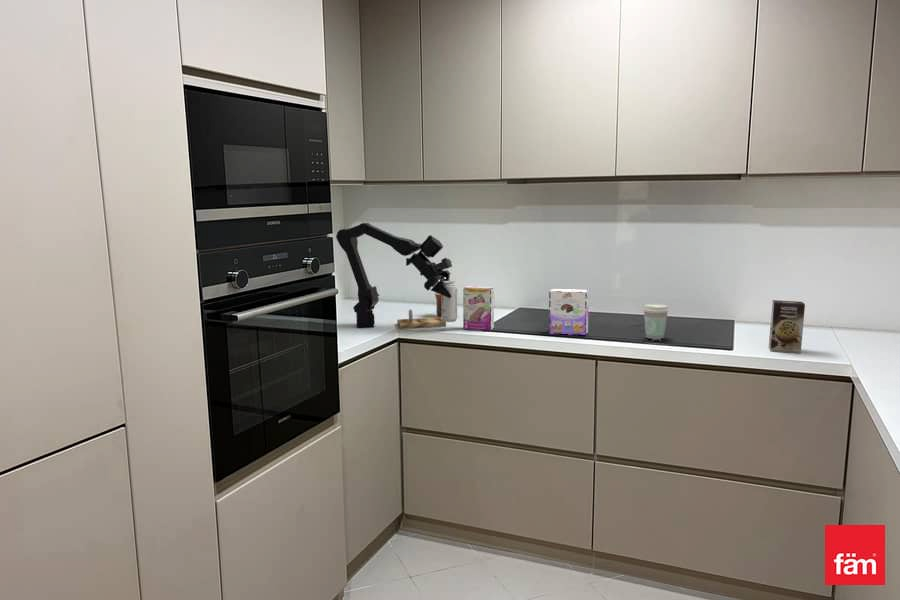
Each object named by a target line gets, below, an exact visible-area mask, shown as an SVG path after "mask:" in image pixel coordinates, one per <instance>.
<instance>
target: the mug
mask: <svg viewBox="0 0 900 600" xmlns="http://www.w3.org/2000/svg"><path fill="white" fill-rule="evenodd" d="M434 295H435V299H436V308H435V309H436V312H435V313H436V316H437V317H441V294H439V293H436V292H434ZM437 317H436V318H437Z"/></svg>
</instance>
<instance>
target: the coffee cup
mask: <svg viewBox="0 0 900 600" xmlns="http://www.w3.org/2000/svg"><path fill="white" fill-rule="evenodd" d="M642 311H643V317H644V330H645V331H644V332H645V338H646V337H647V338H653V339H661V338H663V339H664V336H665V330H666V324H667V319H668V313H669V308H668V305H666V304H661V303H647V304H645V305H644V308H643V310H642Z"/></svg>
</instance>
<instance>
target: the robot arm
mask: <svg viewBox="0 0 900 600" xmlns="http://www.w3.org/2000/svg"><path fill="white" fill-rule="evenodd" d="M364 235H366V236H369V237H370V238H373V239H375V240H377V241H380V242H382V243H384V244H386V245H387V246H389V247H391V248H392V249H393V250H394V251H396V252H397V253H398V254H400V255H401V256H404V257H406V256H410V257H406V259H405V260H406V261H405V265H406V266H410V265H411V264H412V265H413V266H414V267H415V269H416V270H418V272H420V273H419V275H420V276H423V277H424V278H425V279H426V281H425V282H424V283H423V286H424V287H423V288H425V290H426V291H431V292H434V293H439V294H441V295H443V296H446V297H448V298H451V297H452V296H451V294H450V293H449V291H448V290H447V289H446V287H445V286H444V283H443V281H450V277H451V274H452V273H451V272H450V271H449V270H448V269H450V268H453V264H452V260H451V259H449V258H447V257H444V258H442V259H441V261H440V262H439V263H436V262H434V261H433V262H432V261H431V260H430V259H429V258H432V259H433V258H434V257H435V256H436V255H438V253H439V252H440V251H441V250H443V248H444V246H443V243H442V242H441V241H440V240H438V239H437V238H435V237H433V235H431V234H430V235H428V236H427V237H426V239H425V240H424V241H423V242H422V243H416V241H414V240H412V239H409V238H406V237H400V236H397V235H394V234H392V233H390V232H387V231H385V230H383V229H381V228H379V227H376V226H374V225H372V224H371V223H369V222H362V223H360V224H358V225H356V226H352V227H350V228H349V227H348V228H342V229H339V230H338V231H337V232H336V235H335V238H336V240H337V242H338V244H339V247H340V248H341V249H342V250H343V251H344V252H345V255H346V257H347V259H348V263H349V265H350V266H349V267H350V269H351V271H352V274H353V277H354V279H355V283H356V286H357V298H358V299H357V300H358V302H357V303H356V304H354V306H353V307H352V308H353V311H354V313H355V317H356V318H355V319H356V320H355V321H356V323H355V325H356V328H358V329H359V328H362V329H363V328H374V327H375V322H376V321H375V314H374V313H373V312H374V311H373V310H375V306H376V305H377V304H378V302H379V301H380V300H379V297H380V294H379V293H378V291H377V289H378V288H377V286H372V285H371V284H370V282H369V278H368V276H367V274H366V273H367V272H366V271H365V268H364V265H363V261H362V258H361V255H360V253H359V249H358V238H359V237H361V236H364ZM417 251H419V252H418V253H416V252H417ZM411 255H412V256H411Z"/></svg>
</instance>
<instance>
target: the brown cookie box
mask: <svg viewBox="0 0 900 600" xmlns="http://www.w3.org/2000/svg"><path fill="white" fill-rule="evenodd" d="M805 308H806V304H805V302H803V301H796V300H795V301H793V300H780V299H779V300H778V299H777V300H776V299H772V304H771V316H770V325H769V327H770V328H769V339H768V349H769V351H770V352H778V353H779V352H780V353H791V354H801V353H802V343H803V342H802V341H803V331H804V322H805V321H804V320H805Z"/></svg>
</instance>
